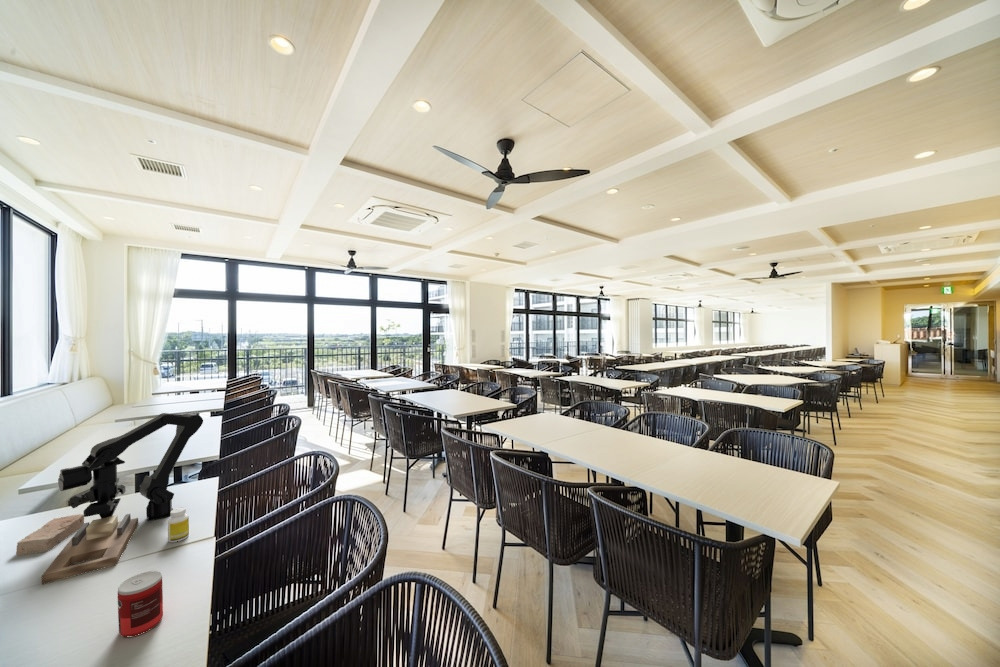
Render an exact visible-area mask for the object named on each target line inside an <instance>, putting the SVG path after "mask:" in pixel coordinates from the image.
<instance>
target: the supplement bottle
mask: <svg viewBox="0 0 1000 667" xmlns="http://www.w3.org/2000/svg"><path fill="white" fill-rule="evenodd" d="M186 509H187V508H186V507H177V508H173V510H172V511H171V512H170V516H169V518H168V520H167V540H168V542H169V543H178V542H181V541H183V540H185V539H187V538H188V537H189V535H190V533H189V532H190V526H189V523H190V520H189V514H188V513H187V510H186ZM177 541H178V542H177Z"/></svg>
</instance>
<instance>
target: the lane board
mask: <svg viewBox="0 0 1000 667" xmlns="http://www.w3.org/2000/svg"><path fill="white" fill-rule="evenodd" d="M89 524H90V522H84V524H83V525H82V527H80V528H79V529H78V530H77V531H76V532H75V534H74V535H73V536H72V538H71V539H70V540H69V541H68V542H67V543H66V544H65V546H64V547H63V548H62V549H61V551H60V552H59V554H58V555H57V556H56V557H55V558H54V559H53V561H52V562H51V563H50V564H49V566H47V568H46V569H45V571H44V572H43V573H42V574H41V585H45V584H49V583H52V582H56V581H60V580H63V579H64V580H65V579H68V578H71V577H75V576H74V575H76V576H78V574H80V575H82V574H81V573H83V574H86V573H85V572H87V573H90V572H89V571H91V572H94V571H93V570H95V571H98V570H97V569H99V570H102V569H105V568H104V567H106V568H109V567H108V566H110V567H113V566H112V565H114V566H116V565H115V564H117V565H118V563H119V562H120V560H119V559H121V558H122V556H123V554H124V552H125V551H126V549H125V548H127V547H126V546H128V545H129V543H130V541H131V539H132V537H133V536H134V534H133V533H135V532H136V530H137V528H138V526H139V518H138V517H136V518H131V513H127V514H124V517H123V519H122V520H121V521H118V527H117V529H116V530H115V531H114V533H113V534H112V535H108V536H104V537H99V538H95V539H90V540H87V537H86V528H87V527H88V526H89ZM137 525H138V526H137ZM136 527H137V528H136ZM135 529H136V530H135ZM134 531H135V532H134ZM131 536H132V537H131ZM130 538H131V539H130ZM129 540H130V541H129ZM128 542H129V543H128ZM127 544H128V545H127ZM122 553H123V554H122ZM121 555H122V556H121ZM120 557H121V558H120ZM83 561H84V562H83ZM118 561H119V562H118ZM101 568H102V569H101ZM48 582H49V583H48ZM44 583H45V584H44Z"/></svg>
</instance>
